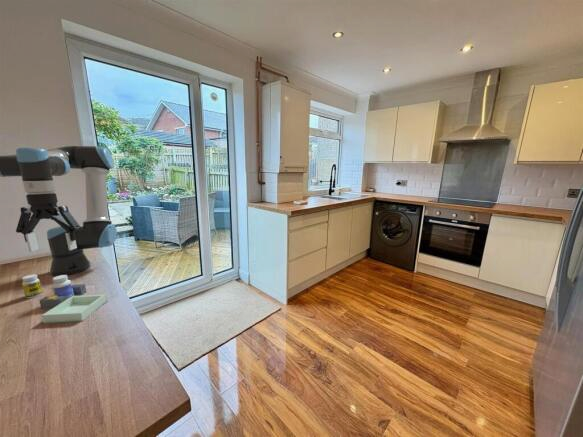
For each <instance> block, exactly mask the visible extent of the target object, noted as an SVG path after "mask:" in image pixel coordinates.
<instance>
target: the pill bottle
mask: <svg viewBox="0 0 583 437" xmlns="http://www.w3.org/2000/svg"><path fill="white" fill-rule="evenodd" d="M68 278H69V277H68V275H60V276H54V277H53V278H52V282H53V284H52V285H51V287H52V288H51V289H52V293H53V294H54V295H58V296H66V300H67V299H68V298H70V297H72V296H75V295H74V292H73V288H72V285H73V283H72V280H70V279H68ZM54 295H53V296H54Z"/></svg>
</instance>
